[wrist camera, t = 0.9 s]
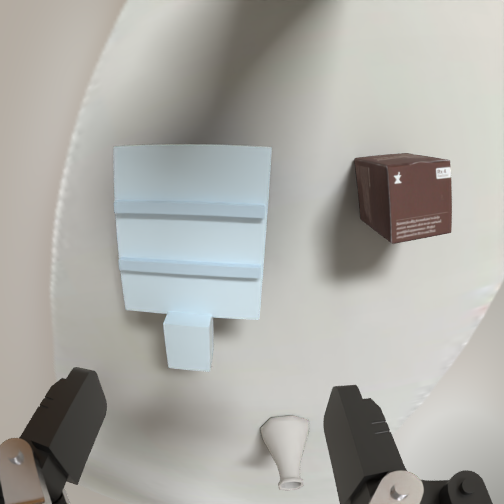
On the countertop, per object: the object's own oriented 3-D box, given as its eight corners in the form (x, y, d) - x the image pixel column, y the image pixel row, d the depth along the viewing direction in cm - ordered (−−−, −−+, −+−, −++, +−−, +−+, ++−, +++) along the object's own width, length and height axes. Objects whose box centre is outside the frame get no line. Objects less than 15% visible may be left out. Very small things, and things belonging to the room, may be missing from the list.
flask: (255, 439, 40) (256, 495, 30) (265, 411, 37) (269, 473, 28) (301, 442, 40) (309, 495, 31) (316, 414, 38) (328, 473, 28)
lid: (120, 145, 20) (102, 147, 18) (270, 147, 21) (273, 148, 18) (136, 342, 26) (126, 362, 24) (255, 351, 27) (256, 374, 24)
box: (358, 219, 28) (389, 245, 21) (352, 156, 26) (385, 164, 19) (412, 211, 28) (452, 234, 21) (409, 152, 26) (452, 159, 19)
